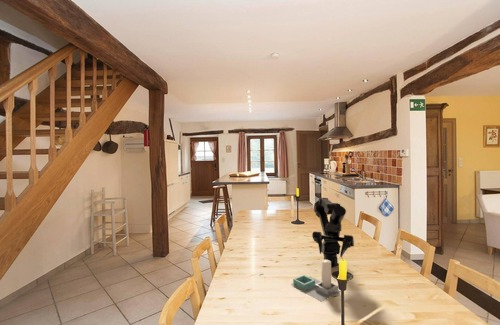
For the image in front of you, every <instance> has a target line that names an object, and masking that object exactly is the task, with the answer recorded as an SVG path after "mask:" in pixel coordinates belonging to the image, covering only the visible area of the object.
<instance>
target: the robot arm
mask: <svg viewBox="0 0 500 325" xmlns="http://www.w3.org/2000/svg"><path fill="white" fill-rule="evenodd" d="M313 212H314V213H315V216H317V217H318V218H319V221H320V222H319V223H320V225H321V228H322V229H321V230H322V232H321V231H317V230H316V231H313V232H312V234H311V237H312V239H313V242H315V243H316V244H318V250H319V254H320V255H323V260H330V261H331V268H334V267H336V266H339V265H340V263H339V262H338V255H339V257H340V258H342V257H343V256H344V254H345V253H346V251H347V250H348V249H349V248H352V247H354V246H355V239H354V236H353V235H351V234H343V236H342V237H341V236H340V235H341V232H342V221H343V220H344V217H345V216H346V213H347V209H346V208H345V207H344V206H342V205H341V204H340V203H338V202H332V201H331V200H329V198H328V197H319V198H318V200H317V201H315V202H314V206H313ZM328 215H329V218H328ZM322 233H323V234H322ZM339 242H341V243H342V245H341V244H340V243H339Z"/></svg>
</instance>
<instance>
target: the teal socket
mask: <svg viewBox="0 0 500 325" xmlns="http://www.w3.org/2000/svg"><path fill="white" fill-rule="evenodd" d="M309 277H310V276H307V275H305V274H302V275H300V276H297V277H294V278H293V279H292V280H293V281H292V284H294V285H295V286H297V287H299V288H301V289H303V290H307V289H309V288H311V287H313V286H315V280H313V279H311V278H309ZM303 281H305V282H307V283H305V284H304V283H302V282H303Z"/></svg>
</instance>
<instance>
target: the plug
mask: <svg viewBox="0 0 500 325" xmlns="http://www.w3.org/2000/svg"><path fill="white" fill-rule="evenodd" d="M320 263H321V264H320V265H321V266H320V267H321V282H322V287H323V288H325V289H327V290H328V289H330V288H331V283H332V267H331V261H330V260H324V259H322V260H321V262H320Z"/></svg>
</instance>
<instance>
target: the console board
mask: <svg viewBox="0 0 500 325" xmlns="http://www.w3.org/2000/svg"><path fill="white" fill-rule="evenodd" d="M308 277H309V278H311V279H313V280H315V284H317V283H320V282H322V280H318V279H316V278H314V277H312V276H308ZM302 283H304V284H305V283H307V282H305V281H303V282H302ZM290 285H291V286H292V287H294V288H296V289H297V290H299V291H301V292H303V293H305V294H306V295H308V296H310V297H312V298H314V299H315V300H317V301H319V302H321V303H323V302H324V301H326V300H328V299H330V298H332V297H334V296H336V295H338V294H340V293H341V292H342V291H341V290H340V289H338V292H337V293H335V294H333V295H331V296H329V297H327V296H325V295H323V294H322V293H320V292H318V291H316V290H315V286H313V287H311V288H309V289H307V290H303V289H301V288H299V287H297V286H295V285H294V284H293V283H290Z"/></svg>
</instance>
